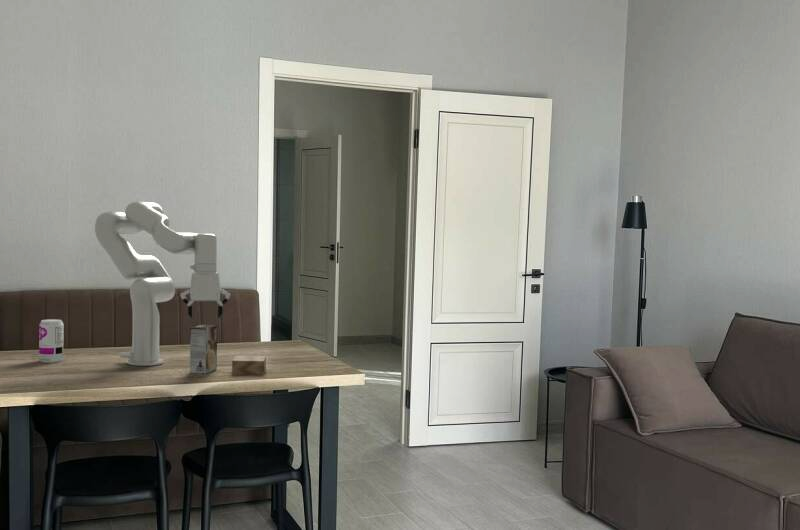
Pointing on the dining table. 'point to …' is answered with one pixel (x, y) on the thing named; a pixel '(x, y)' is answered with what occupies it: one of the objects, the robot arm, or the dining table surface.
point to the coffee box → (203, 348)
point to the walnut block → (249, 365)
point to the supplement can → (51, 340)
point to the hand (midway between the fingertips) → (205, 317)
